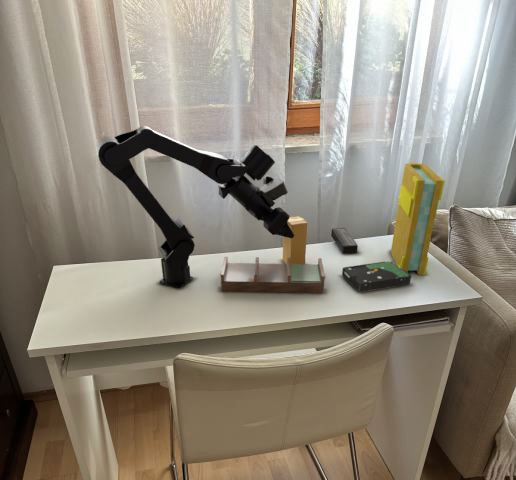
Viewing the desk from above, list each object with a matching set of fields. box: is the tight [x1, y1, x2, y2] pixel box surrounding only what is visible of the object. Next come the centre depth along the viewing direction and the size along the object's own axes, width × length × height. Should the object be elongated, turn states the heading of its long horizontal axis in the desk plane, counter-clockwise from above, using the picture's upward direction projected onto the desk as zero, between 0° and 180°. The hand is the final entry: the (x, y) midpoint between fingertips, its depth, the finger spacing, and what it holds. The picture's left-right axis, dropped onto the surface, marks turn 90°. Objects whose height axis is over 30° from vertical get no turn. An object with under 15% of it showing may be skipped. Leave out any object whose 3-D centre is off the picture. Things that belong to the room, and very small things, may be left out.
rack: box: [220, 256, 326, 294], centre depth 128 cm, size 26×11×5 cm, turn 88°
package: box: [282, 215, 308, 264], centre depth 137 cm, size 4×6×13 cm
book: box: [390, 162, 446, 276], centre depth 134 cm, size 17×7×25 cm, turn 179°
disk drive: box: [341, 261, 412, 293], centre depth 130 cm, size 10×3×15 cm
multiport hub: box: [330, 227, 359, 254], centre depth 151 cm, size 4×14×2 cm, turn 7°
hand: (286, 230), depth 134 cm, fingers open, 9 cm apart
